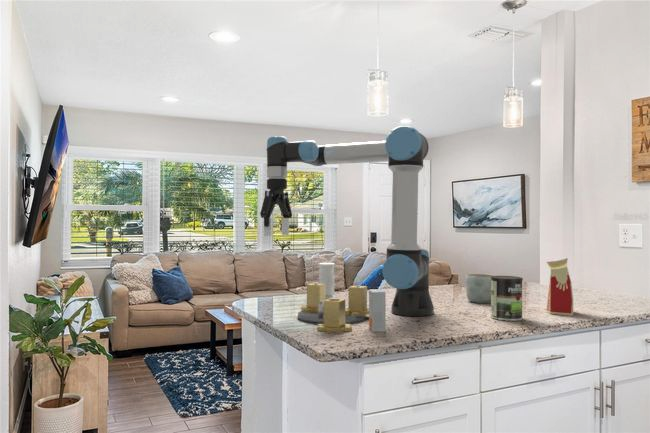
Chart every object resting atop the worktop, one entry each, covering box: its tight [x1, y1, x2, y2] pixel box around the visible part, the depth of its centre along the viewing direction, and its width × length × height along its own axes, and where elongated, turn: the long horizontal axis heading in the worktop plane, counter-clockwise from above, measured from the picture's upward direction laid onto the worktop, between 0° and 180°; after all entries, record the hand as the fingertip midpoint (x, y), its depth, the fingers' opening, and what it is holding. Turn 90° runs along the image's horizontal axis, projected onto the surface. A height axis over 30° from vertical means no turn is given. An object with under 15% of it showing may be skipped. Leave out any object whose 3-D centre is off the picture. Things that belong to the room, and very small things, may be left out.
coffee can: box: [490, 275, 524, 322], centre depth 177 cm, size 10×10×14 cm
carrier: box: [297, 282, 369, 325], centre depth 177 cm, size 27×23×11 cm
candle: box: [318, 262, 336, 300], centre depth 219 cm, size 7×7×15 cm
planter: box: [465, 273, 497, 304], centre depth 213 cm, size 12×12×11 cm
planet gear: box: [316, 298, 353, 334], centre depth 158 cm, size 11×11×9 cm
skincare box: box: [368, 288, 387, 333], centre depth 158 cm, size 6×4×12 cm
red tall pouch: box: [545, 257, 574, 316], centre depth 188 cm, size 9×9×20 cm
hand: (276, 235), depth 193 cm, fingers open, 13 cm apart
